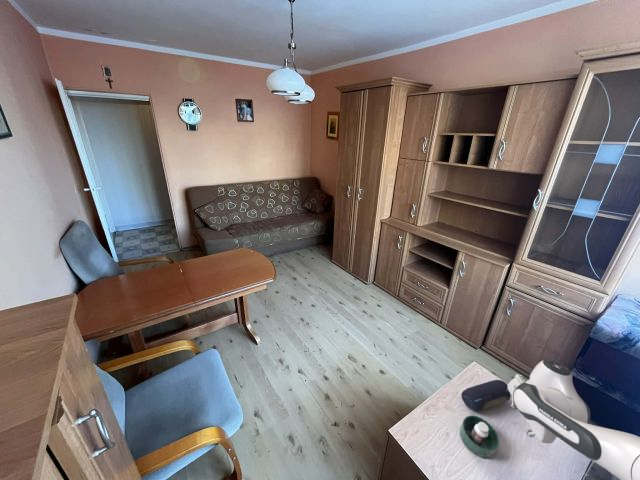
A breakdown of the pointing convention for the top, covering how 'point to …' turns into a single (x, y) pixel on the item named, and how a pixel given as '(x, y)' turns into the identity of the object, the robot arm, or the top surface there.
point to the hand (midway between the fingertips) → (521, 420)
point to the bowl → (490, 442)
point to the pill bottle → (479, 433)
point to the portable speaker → (486, 395)
